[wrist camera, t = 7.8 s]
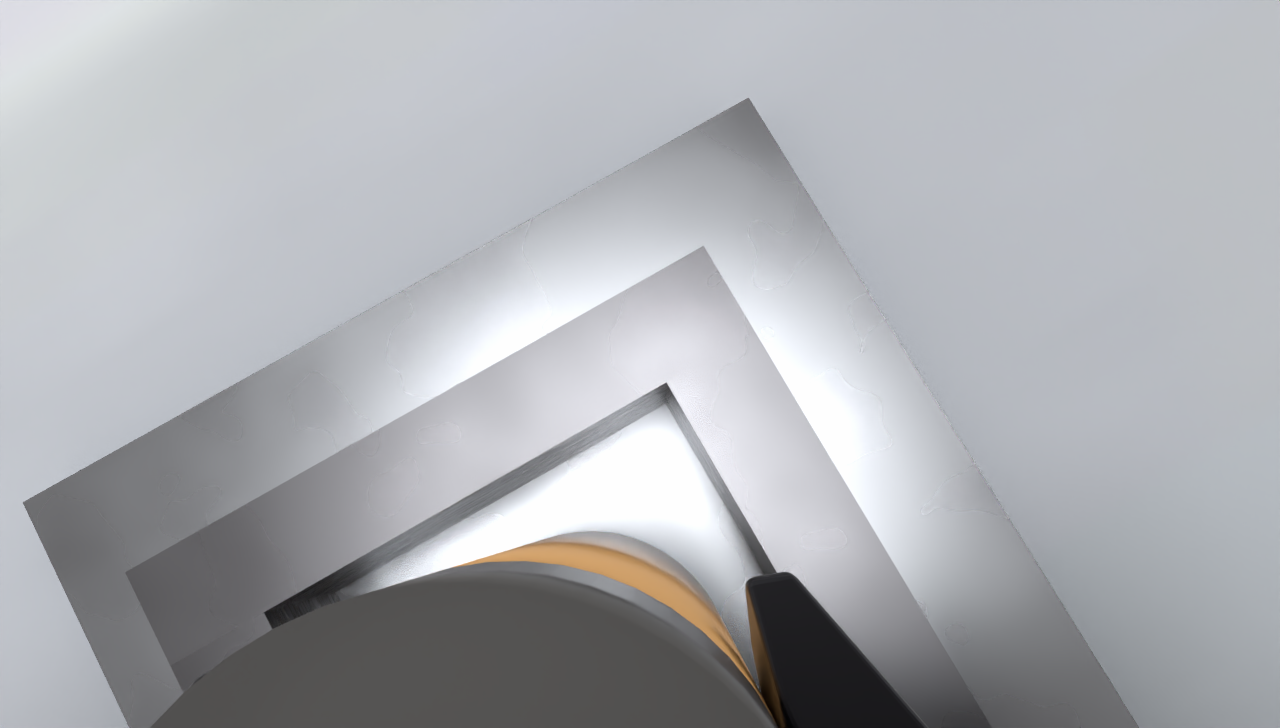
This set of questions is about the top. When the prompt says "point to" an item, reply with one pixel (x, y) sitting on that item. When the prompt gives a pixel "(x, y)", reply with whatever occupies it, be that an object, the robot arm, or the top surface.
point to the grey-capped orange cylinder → (497, 651)
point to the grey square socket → (590, 452)
